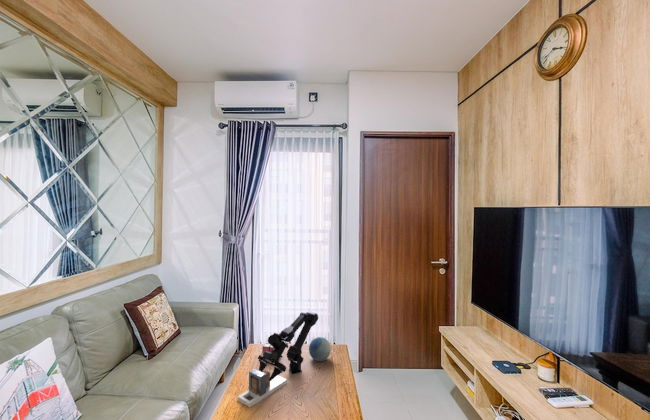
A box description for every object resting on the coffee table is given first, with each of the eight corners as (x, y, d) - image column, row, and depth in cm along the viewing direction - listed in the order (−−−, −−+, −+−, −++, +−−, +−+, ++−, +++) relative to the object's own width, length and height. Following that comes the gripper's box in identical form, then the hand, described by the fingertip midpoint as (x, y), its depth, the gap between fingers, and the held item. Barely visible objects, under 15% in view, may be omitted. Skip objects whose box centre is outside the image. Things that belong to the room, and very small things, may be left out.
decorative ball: (317, 352, 224) (317, 331, 224) (335, 358, 216) (335, 337, 215) (304, 361, 212) (304, 339, 212) (322, 368, 203) (322, 345, 203)
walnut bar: (265, 383, 182) (265, 370, 182) (269, 386, 179) (270, 372, 179) (251, 392, 174) (251, 377, 173) (256, 394, 171) (256, 380, 171)
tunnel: (254, 386, 179) (254, 368, 179) (266, 392, 173) (266, 374, 173) (248, 390, 176) (249, 371, 175) (260, 396, 170) (260, 377, 170)
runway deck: (275, 377, 192) (275, 373, 192) (287, 382, 186) (287, 379, 186) (237, 400, 170) (237, 396, 170) (249, 407, 164) (249, 403, 164)
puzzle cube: (276, 362, 209) (276, 348, 209) (262, 361, 212) (262, 346, 211) (281, 355, 219) (281, 341, 219) (267, 354, 221) (267, 340, 221)
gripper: (260, 340, 188) (245, 366, 179) (282, 349, 177) (268, 378, 168) (269, 349, 194) (255, 374, 186) (292, 358, 183) (278, 385, 174)
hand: (263, 377), depth 178 cm, fingers open, 9 cm apart
